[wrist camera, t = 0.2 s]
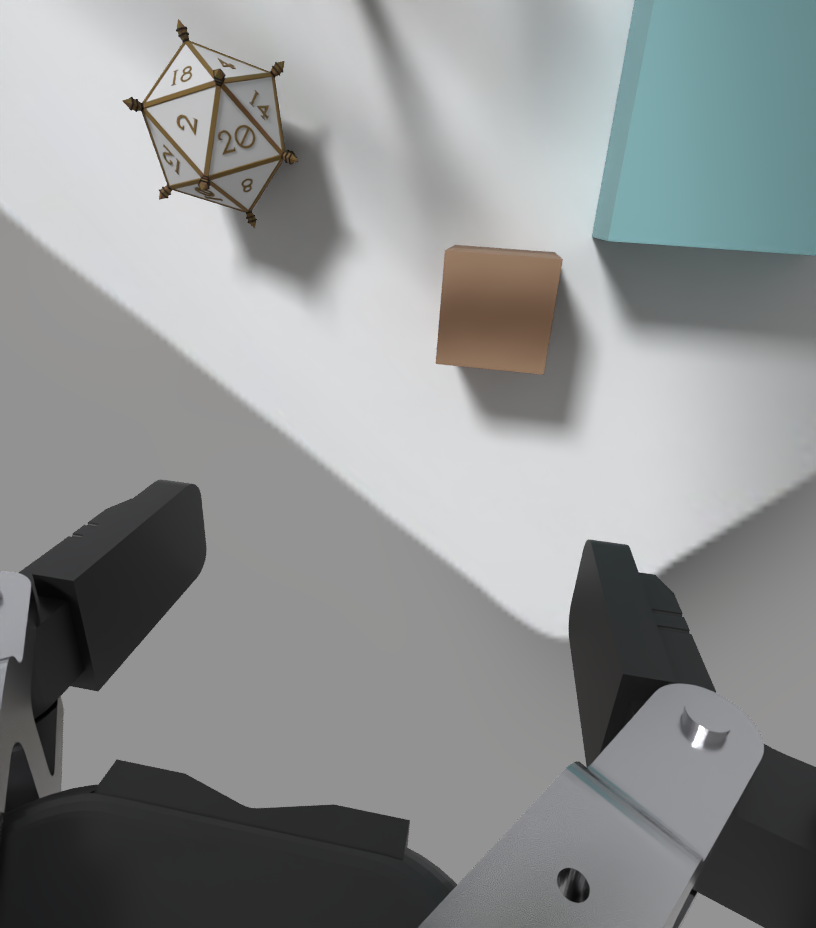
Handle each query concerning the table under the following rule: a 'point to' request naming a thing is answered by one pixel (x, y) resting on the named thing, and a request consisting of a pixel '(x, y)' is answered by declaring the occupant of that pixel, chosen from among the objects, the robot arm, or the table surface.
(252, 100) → the game die
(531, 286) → the walnut cube
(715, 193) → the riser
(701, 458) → the table surface
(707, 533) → the table surface
